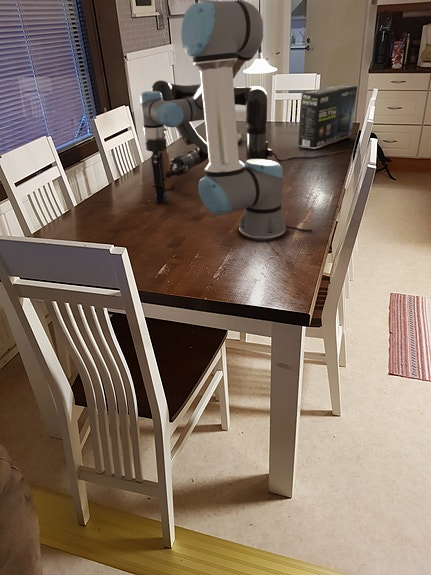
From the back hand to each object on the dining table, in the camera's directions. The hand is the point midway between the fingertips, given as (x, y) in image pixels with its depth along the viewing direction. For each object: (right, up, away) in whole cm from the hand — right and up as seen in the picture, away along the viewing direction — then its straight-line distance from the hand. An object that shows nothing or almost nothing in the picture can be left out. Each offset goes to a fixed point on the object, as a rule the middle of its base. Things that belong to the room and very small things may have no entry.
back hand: (161, 174), depth 186 cm
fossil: (+29, +34, +67) cm, 81 cm away
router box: (+81, +31, +58) cm, 104 cm away
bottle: (+1, -4, +5) cm, 7 cm away
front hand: (+1, -12, -10) cm, 16 cm away
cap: (+1, -11, -12) cm, 16 cm away
